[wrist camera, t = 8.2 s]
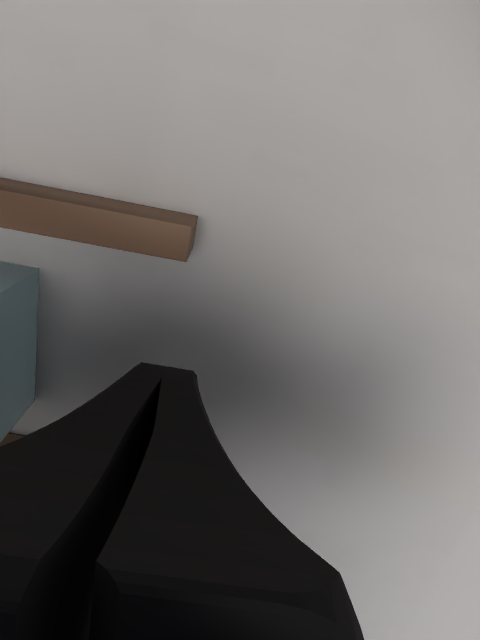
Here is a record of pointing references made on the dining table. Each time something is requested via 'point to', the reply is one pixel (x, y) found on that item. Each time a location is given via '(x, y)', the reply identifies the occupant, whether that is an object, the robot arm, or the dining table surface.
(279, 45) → the dining table surface
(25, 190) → the slot comb
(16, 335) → the pale blue rectangular block
